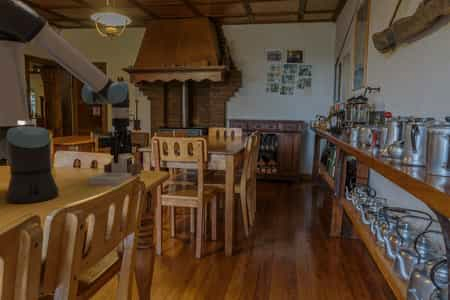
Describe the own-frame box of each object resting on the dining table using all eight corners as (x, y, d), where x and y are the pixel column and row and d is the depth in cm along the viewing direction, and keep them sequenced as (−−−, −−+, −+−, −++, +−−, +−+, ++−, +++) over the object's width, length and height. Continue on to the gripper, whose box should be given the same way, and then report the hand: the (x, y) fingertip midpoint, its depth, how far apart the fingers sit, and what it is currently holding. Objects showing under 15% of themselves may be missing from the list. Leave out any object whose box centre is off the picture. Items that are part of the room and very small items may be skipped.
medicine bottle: (127, 174, 142) (126, 146, 141) (111, 173, 143) (110, 146, 141) (132, 171, 150) (131, 145, 148) (117, 170, 150) (116, 145, 148)
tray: (116, 185, 126) (116, 179, 126) (88, 183, 128) (88, 178, 128) (131, 178, 138) (131, 173, 137) (105, 177, 140) (105, 172, 140)
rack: (130, 177, 140) (130, 166, 140) (104, 176, 143) (103, 165, 142) (141, 172, 150) (140, 162, 149) (116, 171, 153) (116, 161, 152)
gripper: (116, 118, 132) (117, 173, 135) (139, 117, 152) (140, 165, 155) (99, 118, 134) (101, 172, 137) (124, 117, 154) (126, 164, 157)
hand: (122, 168), depth 146 cm, fingers closed on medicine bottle, 8 cm apart
